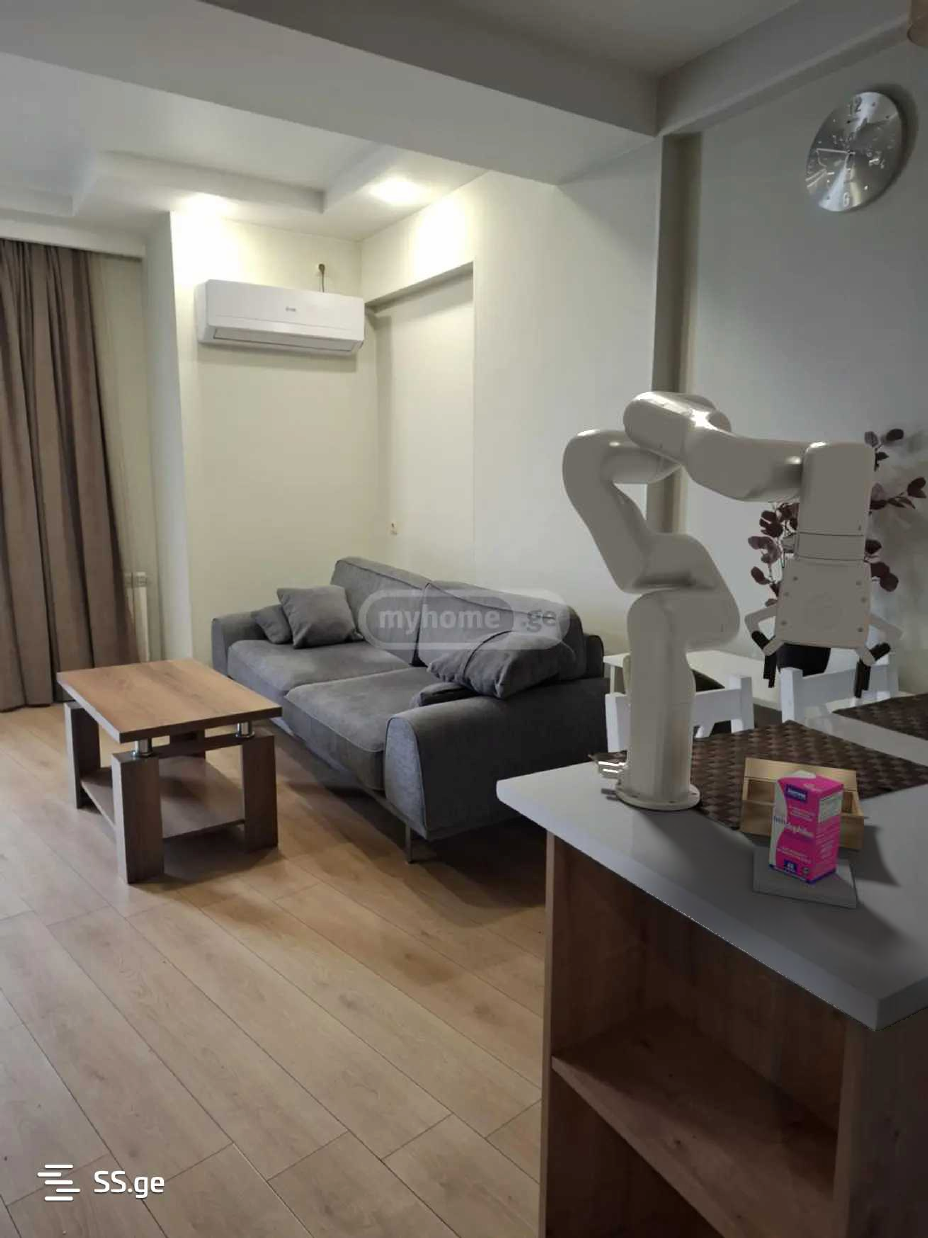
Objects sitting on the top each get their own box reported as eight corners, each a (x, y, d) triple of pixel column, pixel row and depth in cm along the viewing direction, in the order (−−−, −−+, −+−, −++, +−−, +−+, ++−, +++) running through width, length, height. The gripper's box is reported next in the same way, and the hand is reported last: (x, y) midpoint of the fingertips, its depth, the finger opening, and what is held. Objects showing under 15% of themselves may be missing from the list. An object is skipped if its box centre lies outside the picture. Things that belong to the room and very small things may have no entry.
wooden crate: (738, 843, 111) (741, 799, 110) (743, 795, 128) (746, 757, 127) (864, 863, 105) (869, 817, 104) (851, 810, 123) (855, 770, 122)
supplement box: (766, 867, 101) (773, 777, 100) (793, 855, 105) (801, 768, 103) (810, 886, 97) (819, 792, 95) (837, 873, 100) (846, 782, 99)
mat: (752, 890, 98) (753, 882, 97) (754, 853, 108) (755, 845, 108) (855, 908, 94) (856, 900, 94) (847, 867, 104) (848, 860, 104)
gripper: (749, 546, 97) (736, 688, 100) (916, 557, 91) (896, 708, 94) (752, 542, 104) (740, 675, 107) (907, 551, 98) (889, 692, 101)
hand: (813, 690), depth 101 cm, fingers open, 9 cm apart
